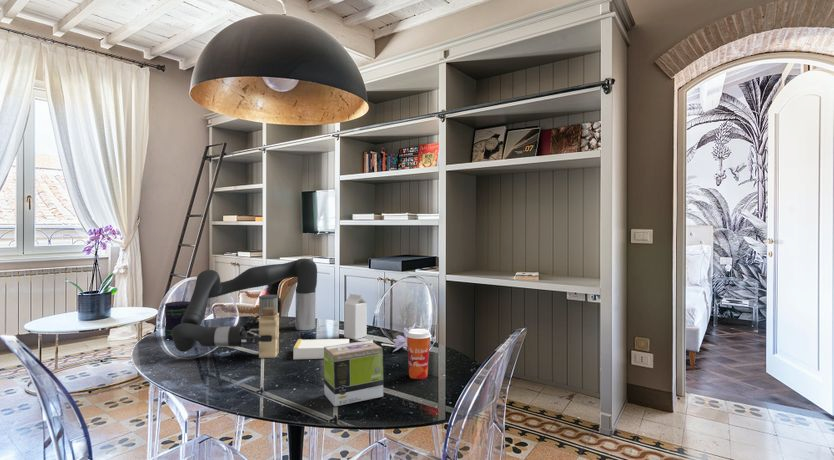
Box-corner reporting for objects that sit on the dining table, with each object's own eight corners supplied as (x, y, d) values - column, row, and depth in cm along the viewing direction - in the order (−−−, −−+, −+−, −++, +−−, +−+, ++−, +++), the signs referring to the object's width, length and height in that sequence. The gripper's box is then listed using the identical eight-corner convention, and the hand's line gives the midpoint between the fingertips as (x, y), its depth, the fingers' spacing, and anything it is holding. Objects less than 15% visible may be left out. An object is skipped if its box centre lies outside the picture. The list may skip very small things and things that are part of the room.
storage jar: (162, 337, 193) (162, 302, 193) (186, 333, 199) (186, 300, 199) (168, 341, 185) (167, 306, 185) (193, 337, 192) (193, 303, 192)
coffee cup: (403, 379, 143) (404, 333, 143) (407, 371, 151) (408, 327, 151) (429, 381, 142) (430, 334, 141) (432, 372, 150) (432, 328, 150)
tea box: (370, 386, 137) (370, 339, 137) (383, 397, 128) (384, 347, 128) (323, 395, 130) (323, 345, 130) (333, 407, 121) (333, 354, 121)
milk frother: (275, 328, 209) (275, 297, 209) (241, 328, 209) (241, 297, 208) (283, 322, 223) (283, 292, 223) (251, 322, 223) (251, 292, 223)
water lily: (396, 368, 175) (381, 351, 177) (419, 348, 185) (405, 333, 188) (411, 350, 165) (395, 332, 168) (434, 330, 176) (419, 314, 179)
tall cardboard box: (262, 353, 171) (262, 313, 170) (278, 352, 171) (278, 312, 171) (259, 357, 165) (259, 316, 164) (275, 357, 165) (275, 316, 165)
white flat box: (298, 349, 175) (298, 339, 175) (349, 348, 177) (349, 338, 177) (293, 359, 163) (293, 347, 163) (348, 357, 165) (348, 346, 165)
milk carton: (355, 340, 190) (355, 296, 190) (343, 337, 195) (344, 294, 194) (366, 336, 196) (366, 294, 196) (355, 334, 200) (355, 292, 200)
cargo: (264, 317, 169) (264, 307, 169) (275, 317, 170) (275, 307, 170) (262, 319, 165) (262, 309, 165) (273, 319, 166) (273, 309, 166)
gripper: (223, 331, 159) (270, 330, 161) (235, 322, 173) (277, 321, 175) (223, 351, 159) (270, 350, 161) (235, 341, 173) (277, 340, 175)
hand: (274, 335), depth 168 cm, fingers open, 8 cm apart
